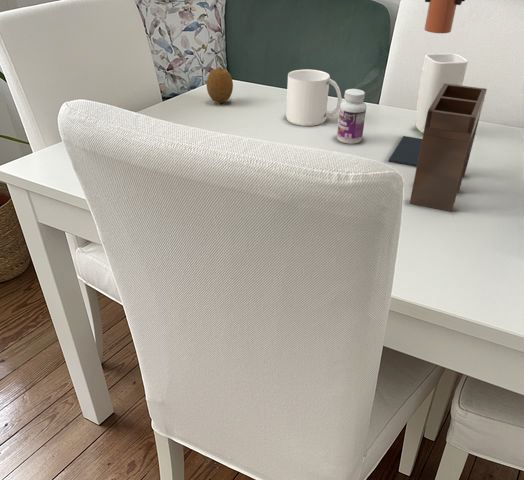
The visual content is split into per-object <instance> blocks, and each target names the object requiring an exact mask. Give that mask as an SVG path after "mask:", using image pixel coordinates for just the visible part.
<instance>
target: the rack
mask: <svg viewBox="0 0 524 480" xmlns="http://www.w3.org/2000/svg"><path fill="white" fill-rule="evenodd" d="M487 91H488V89H487V88H483V87H475V86H468V85H462V86H461V85H453V84H445V83H444V85H443V86H442V88H441V90H440V91H439V93H438V95H437V96H436V98H435V100H434V101H433V103H432V105H431V106H430V108H429V110H428V113H427V118H426V123H425V128H424V133H423V134H422V137H421V139H422V143H421V148H420V153H419V158H418V163H417V166H416V169H415V175H414V178H413V183H412V188H411V194H410V201H409V204H411V205H415V206H421V207H425V208H432V209H435V210H440V211H441V210H442V211H447V212H453V209H454V206H455V202H456V198H457V195H458V194H459V193H460V190H461V185H462V181H463V178H465V177H466V176H465V175H466V171H467V167H468V164H469V160H470V156H471V153H472V148H473V145H474V142H475V137H476V133H477V129H478V125H479V121H480V117H481V113H482V110H483V107H484V102H485V98H486V95H487Z"/></svg>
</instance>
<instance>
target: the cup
mask: <svg viewBox="0 0 524 480" xmlns="http://www.w3.org/2000/svg"><path fill="white" fill-rule="evenodd" d="M468 63H469V61H468V59H466V58H464V57H463V56H461V55H460V54H458V53H454V52H441V53H440V52H434V53H433V52H432V53H431V52H430V53H426V54H425V55H424V58H423V63H422V69H421V72H420V78H419V79H420V80H419V86H418V94H417V102H416V114H415V127H416V129H417V130H418V131H419V132H420V133H421V134H422V135H423V133H424V128H425V123H426V118H427V113H428V110H429V108H430V106H431V105H432V103H433V101H434V100H435V98H436V96H437V95H438V93H439V91H440V90H441V88H442V86H443V85H444V83H445V84H453V85H461V86H463V83H464V80H465V75H466V71H467V67H468Z"/></svg>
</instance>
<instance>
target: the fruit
mask: <svg viewBox="0 0 524 480" xmlns="http://www.w3.org/2000/svg"><path fill="white" fill-rule="evenodd" d="M231 75H232V74H231V73H230V72H229V71H228V70H227V69H225V68H222V67H221V66H218V67H216V68H214V69H211V71H210V72H209V73H208V75H207V79H206V90H207V93H208V96H209V98H210V99H211V100H212V101H213V102H215V103H216V104H219V105H221V104H224V103H225V102H227V101H228V100H230V98H231V96H232V93H233V90H234V89H233V88H234V81H233V78H232V76H231Z"/></svg>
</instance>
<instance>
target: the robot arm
mask: <svg viewBox="0 0 524 480" xmlns="http://www.w3.org/2000/svg"><path fill="white" fill-rule="evenodd" d="M465 1H466V0H457V2H456V6H461V5H462V3H463V2H465ZM424 2H425V3H429V2H430V0H424Z"/></svg>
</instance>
